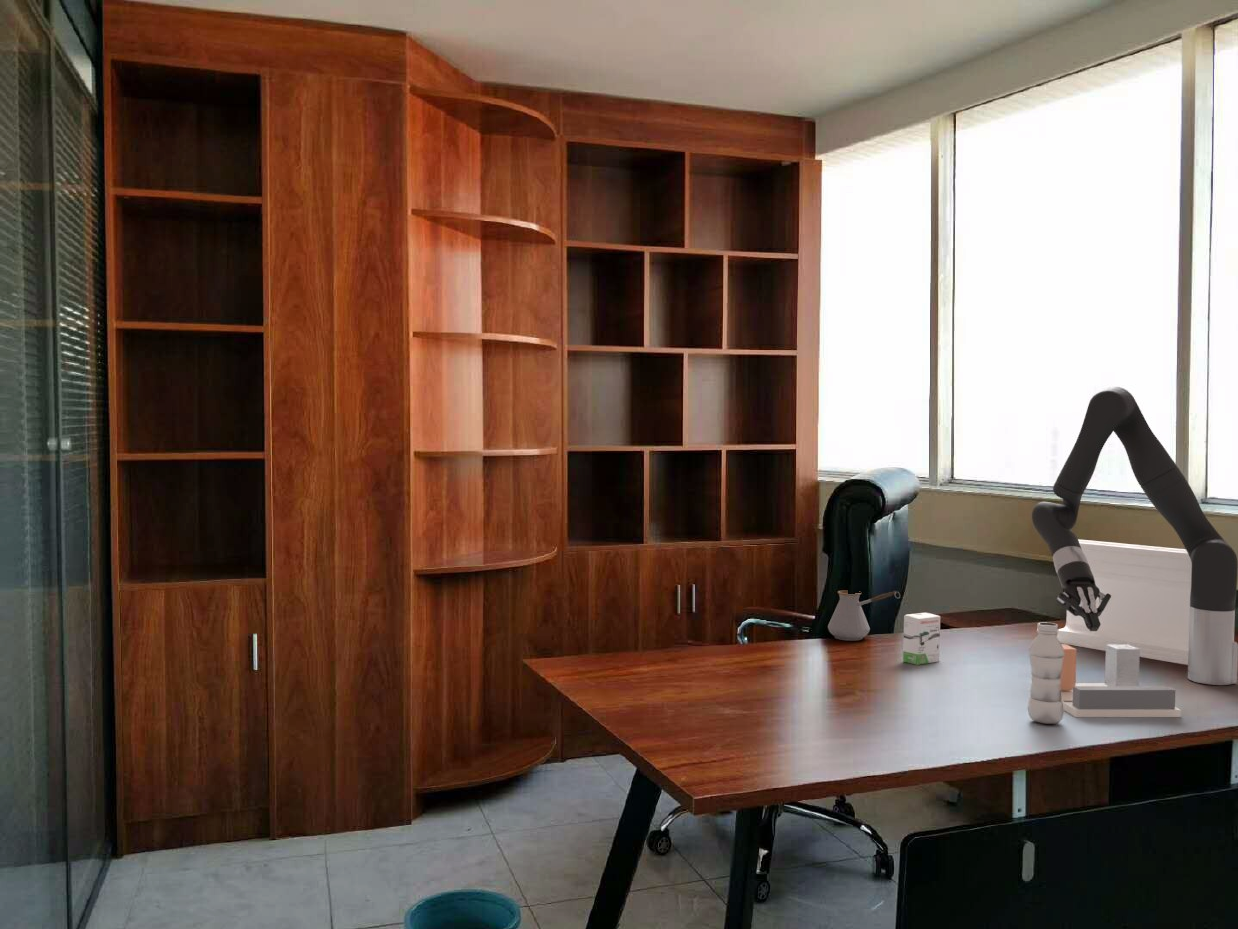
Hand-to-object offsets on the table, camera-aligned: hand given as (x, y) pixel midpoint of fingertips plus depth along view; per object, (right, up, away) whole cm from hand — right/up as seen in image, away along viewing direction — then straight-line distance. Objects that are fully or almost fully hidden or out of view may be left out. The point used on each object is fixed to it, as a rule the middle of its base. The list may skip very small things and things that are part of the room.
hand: (1095, 629), depth 247 cm
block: (+24, -11, +34) cm, 43 cm away
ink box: (-35, -11, +20) cm, 42 cm away
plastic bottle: (-25, -14, -33) cm, 44 cm away
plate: (-6, -13, -18) cm, 23 cm away
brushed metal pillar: (0, -11, -12) cm, 16 cm away
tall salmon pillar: (-14, -11, -13) cm, 21 cm away
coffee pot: (-43, -10, +45) cm, 63 cm away
